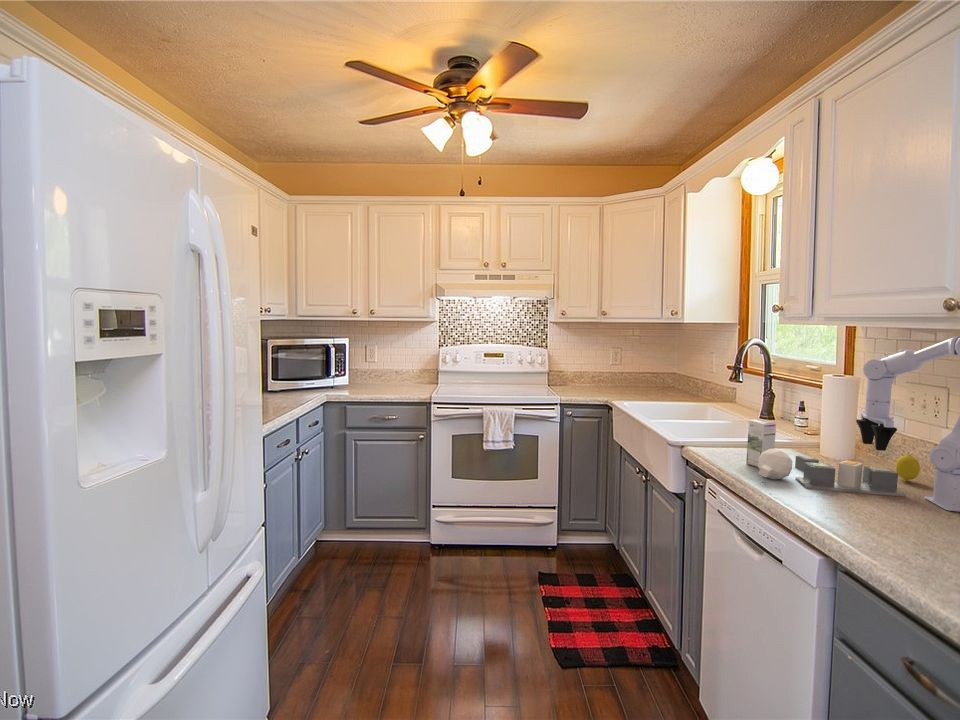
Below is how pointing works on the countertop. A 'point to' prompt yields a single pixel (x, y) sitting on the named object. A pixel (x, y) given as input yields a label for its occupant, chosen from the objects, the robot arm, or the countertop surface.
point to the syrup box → (759, 439)
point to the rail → (824, 479)
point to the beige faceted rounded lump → (774, 464)
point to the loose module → (849, 473)
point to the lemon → (907, 467)
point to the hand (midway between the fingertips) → (873, 447)
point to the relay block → (801, 459)
